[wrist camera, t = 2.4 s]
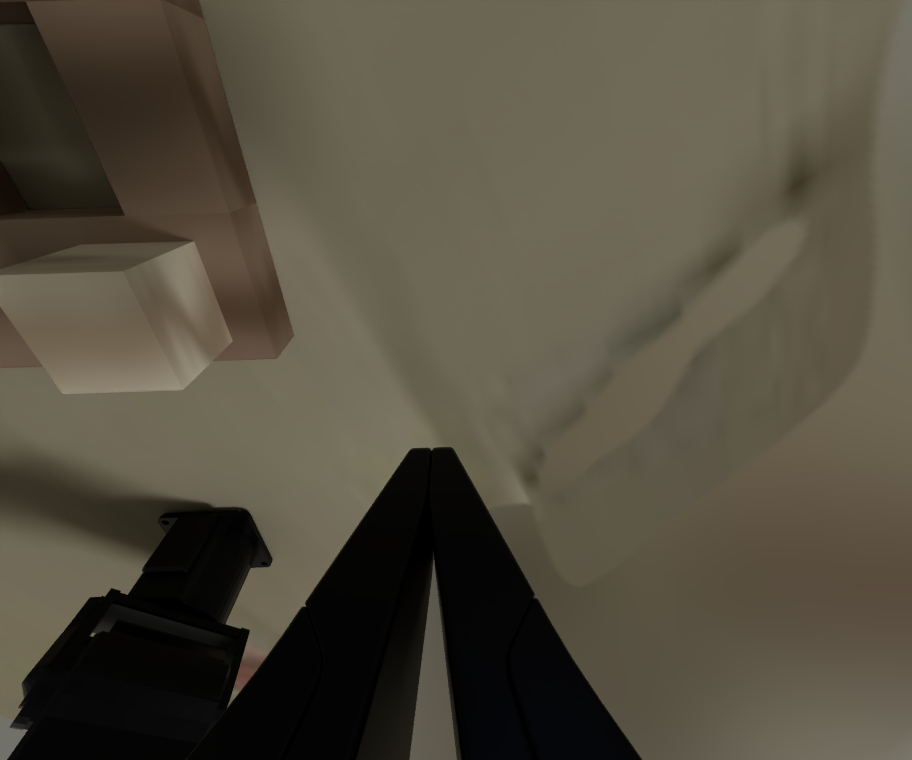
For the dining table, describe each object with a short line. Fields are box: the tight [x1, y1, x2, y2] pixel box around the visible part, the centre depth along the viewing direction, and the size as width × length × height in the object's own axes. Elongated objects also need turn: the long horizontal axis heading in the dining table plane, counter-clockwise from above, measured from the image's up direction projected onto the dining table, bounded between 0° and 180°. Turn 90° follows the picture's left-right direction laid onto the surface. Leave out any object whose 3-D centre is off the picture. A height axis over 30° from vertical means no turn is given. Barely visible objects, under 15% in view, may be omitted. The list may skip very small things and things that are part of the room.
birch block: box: [0, 241, 233, 394], centre depth 15 cm, size 4×4×4 cm
